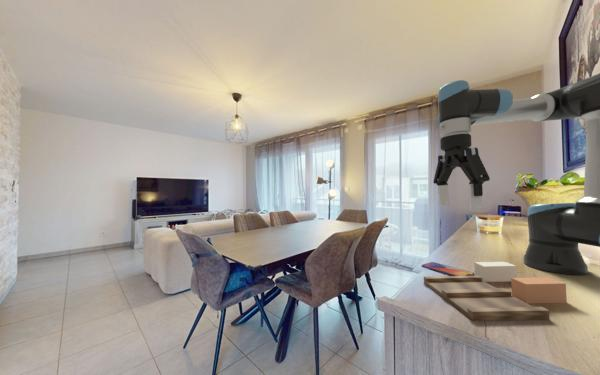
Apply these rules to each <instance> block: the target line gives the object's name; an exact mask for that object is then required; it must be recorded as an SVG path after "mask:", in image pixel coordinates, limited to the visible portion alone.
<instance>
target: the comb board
mask: <svg viewBox="0 0 600 375" xmlns="http://www.w3.org/2000/svg"><path fill="white" fill-rule="evenodd" d="M423 283H424V284H425V285H426V286H427V285H428V286H427V287H429V288H430V289H431V290H432V289H433V290H432V291H434V292H435V293H436V294H437V295H439V296H440V297H441V296H442V297H441V298H442V299H444V300H445V301H446V302H448V303H449V304H450V305H452V306H453V307H454V308H456V309H457V310H458V311H460V312H461V313H462V314H464V316H466V317H467V318H469V319H470V320H471V321H473V322H474V321H476V322H478V321H530V320H532V321H533V320H534V321H537V320H539V321H540V320H543V321H544V320H550V319H551V318H550V310H549V309H547V308H545V307H543V306H533V305H531V304H530V303H525V302H523V301H521V300H519V299H517V298H515V297H513V296H512V290H511V291H510V290H508V289H506V288H503V287H501V288H497V287H496V286H494V285H491V284H489V282H484V281H482V277H480V276H450V275H441V276H433V275H432V276H423Z"/></svg>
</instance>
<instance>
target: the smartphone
mask: <svg viewBox="0 0 600 375" xmlns="http://www.w3.org/2000/svg"><path fill="white" fill-rule="evenodd" d="M421 267H422V268H425V269H427V270H431V271H434V272H437V273H440V274H443V273H444V275H446V274H447V275H446V276H475V272H472V271H469V270H466V269H465V270H464V269H462V268H457V267H454V266H451V265H450V266H449V265H445V264H443V263H438V262H435V261H430V262H426V263H423V264H421Z"/></svg>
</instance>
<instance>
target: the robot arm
mask: <svg viewBox="0 0 600 375" xmlns="http://www.w3.org/2000/svg"><path fill="white" fill-rule="evenodd" d="M437 98H438V101H437V104H438V116H437V118H436V125H437V127H438V129H439V135H440V140H439V142H440V144H439V145H440V150H441V151H442V152H444V154H439V155H438V156H437V164H436V170H435V174H434V177H433V184H434V185H435V184H436V186H437V187H438V188H437V189H438V191H437V192H438V205H439V206H449V205H450V197H449V195H450V194H449V184H448V180H449V179H450V177H451V175H452V172H454V170H455V169H456V168H460V169H461V171H462V172H463V174H464V175H465V176H466V177H467V179H468V181H469V183H468V195H469V198H468V200H469V209H470V210H478V209H479V210H480V209H483V197H482V196H483V195H484V194H483V192H484V191H483V184H484V183H486V182H489V181H490V180H491V179H490V175H489V173H488V172H487V169H486V167H485V164H484V163H483V161H482V159H481V157H480V155H479V154H480V153H479V148H478V147H472V135H471V134H470V133H471V132H472V127H473V126H483V125H490V124H491V125H492V124H499V123H501V124H503V123H509V122H518V121H520V122H521V121H531V122H535V123H536V122H546V121H557V120H569V119H576V118H579V119H580V120H582V121H583V122H586V138H585V139H586V142H585V143H586V145H585V147H586V148H585V159H584V160H585V163H584V165H585V166H584V180H583V181H584V182H583V183H584V184H583V185H584V187H583V197H581V198H579V199H578V200H576V201H575V202H561V203H557V202H556V203H541V204H540V203H539V204H532V205H530V206H529V207H527V209H528V210H527V217H526V218H527V226H528V246H527V248H526V250H525V254H524V255H523V264H525V265H526V266H527V267H528V266H529V267H531V268H534V269H537V270H541V271H545V272H550V273H557V274H563V275H575V276H576V275H582V276H583V275H586V274H587V275H588V273H589V269H588V268H589V267H588V264H587V263H586V262H585V260H584V257H583V255H582V253H581V251H580V250H579V244H582V245H588V246H593V247H599V248H600V72H599V73H597V74H595V75H594V74H593V75H592V76H590V77H587V78H584V79H581V80H579V81H578V80H577V82H573V83H570V84H568V85H565V86H564V87H561V88H559V89H555V90H552V91H550V92H546V93H539V94H535V95H534V96H532V97H527V98H519V99H517V98H516V99H514V96H513V93H512V92H511V91H510V90H508V89H505V88H503V89H502V88H500V89H499V88H486V89H473V88H472V89H471V88H470V85H469V82H468V81H467V80H464V79H461V80H455V81H451V82H449V83H446V84H443V86H441V87H440V88H439V90H438V97H437Z"/></svg>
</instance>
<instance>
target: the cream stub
mask: <svg viewBox="0 0 600 375" xmlns="http://www.w3.org/2000/svg"><path fill="white" fill-rule="evenodd" d="M473 263H474V274H475V276H480V277H482V281H484V282H486V283H495V282H496V283H497V282H502V283H503V282H504V283H505V282H511V278H518V275H517V274H518V272H517V271H518V270H517V265H515V264H512V263H511V262H508V261H507V262H506V261H480V262H476V261H475V262H473Z"/></svg>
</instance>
